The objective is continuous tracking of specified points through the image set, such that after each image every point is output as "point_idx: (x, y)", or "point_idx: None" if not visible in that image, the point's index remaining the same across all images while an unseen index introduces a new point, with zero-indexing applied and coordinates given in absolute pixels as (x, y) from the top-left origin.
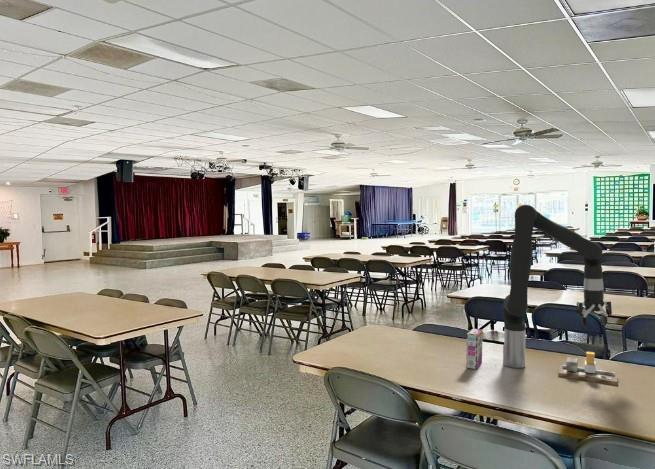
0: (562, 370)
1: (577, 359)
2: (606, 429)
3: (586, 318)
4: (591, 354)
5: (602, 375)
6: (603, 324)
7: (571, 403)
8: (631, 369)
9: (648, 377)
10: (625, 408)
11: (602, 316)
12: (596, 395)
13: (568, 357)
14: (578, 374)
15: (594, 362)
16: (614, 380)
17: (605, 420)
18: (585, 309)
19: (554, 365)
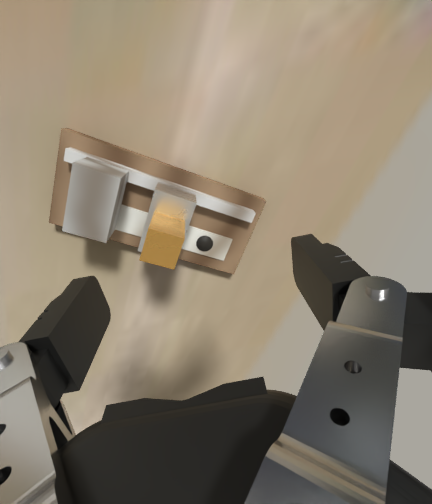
0: (67, 191)
1: (117, 193)
2: None
3: (82, 380)
4: (162, 265)
5: (209, 222)
6: (294, 263)
7: (77, 396)
8: (376, 75)
9: (376, 173)
10: (190, 394)
11: (330, 300)
12: (148, 345)
13: (76, 165)
14: (123, 231)
15: (186, 217)
16: (230, 264)
17: None
18: (8, 431)
19: (43, 64)
